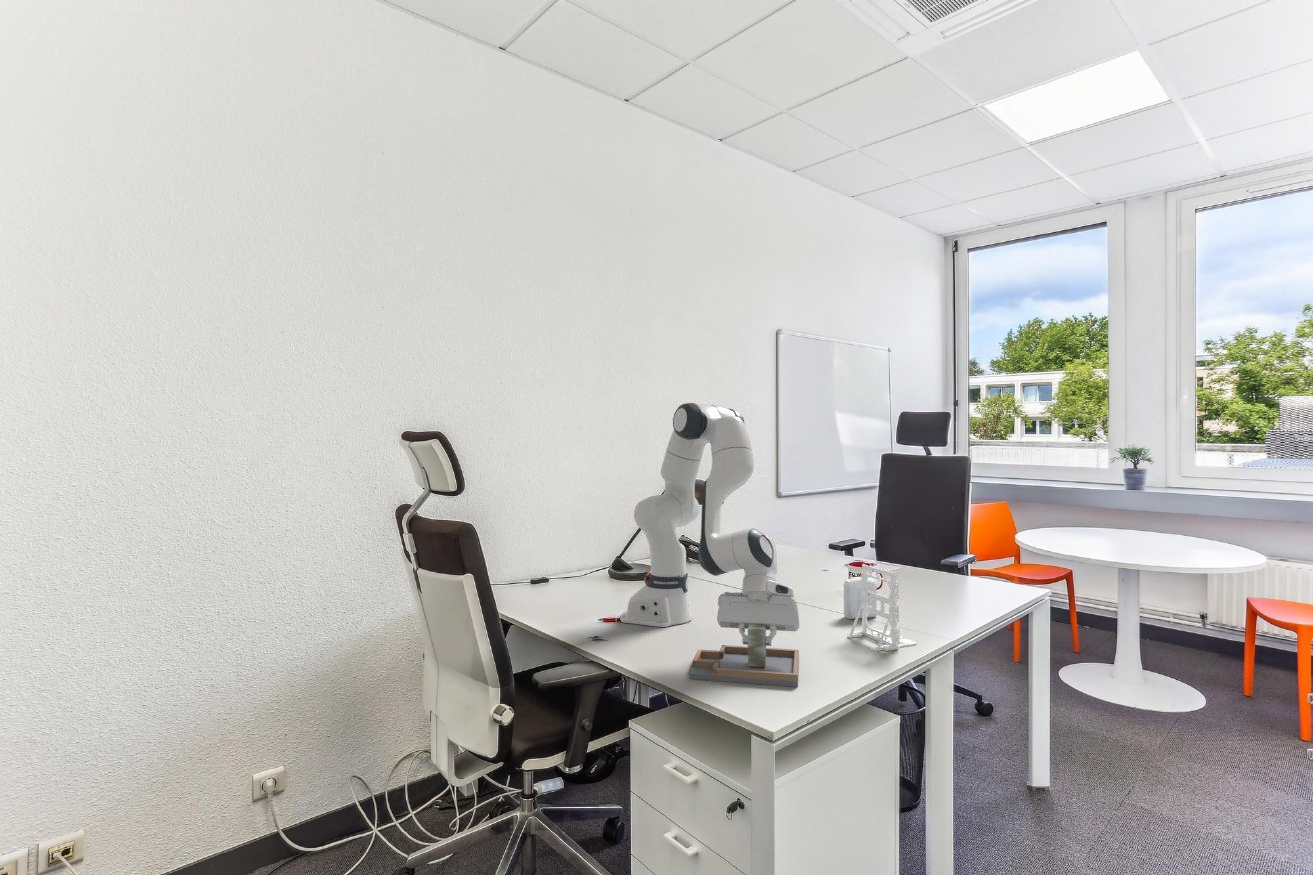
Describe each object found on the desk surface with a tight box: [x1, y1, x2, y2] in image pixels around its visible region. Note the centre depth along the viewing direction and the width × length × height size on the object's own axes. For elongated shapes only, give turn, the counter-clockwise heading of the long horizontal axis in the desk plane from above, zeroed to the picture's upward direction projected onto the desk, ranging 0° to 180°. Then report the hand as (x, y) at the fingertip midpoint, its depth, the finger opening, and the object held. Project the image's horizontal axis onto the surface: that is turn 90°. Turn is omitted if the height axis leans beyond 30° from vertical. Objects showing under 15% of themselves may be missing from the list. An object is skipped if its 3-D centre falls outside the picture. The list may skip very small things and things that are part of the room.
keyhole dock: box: [688, 644, 800, 688], centre depth 153 cm, size 25×17×3 cm
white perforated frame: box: [846, 563, 918, 652], centre depth 172 cm, size 14×14×20 cm
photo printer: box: [843, 576, 878, 620], centre depth 194 cm, size 10×4×12 cm, turn 103°
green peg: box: [747, 624, 767, 667], centre depth 153 cm, size 4×4×9 cm
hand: (756, 644), depth 152 cm, fingers closed on green peg, 4 cm apart
